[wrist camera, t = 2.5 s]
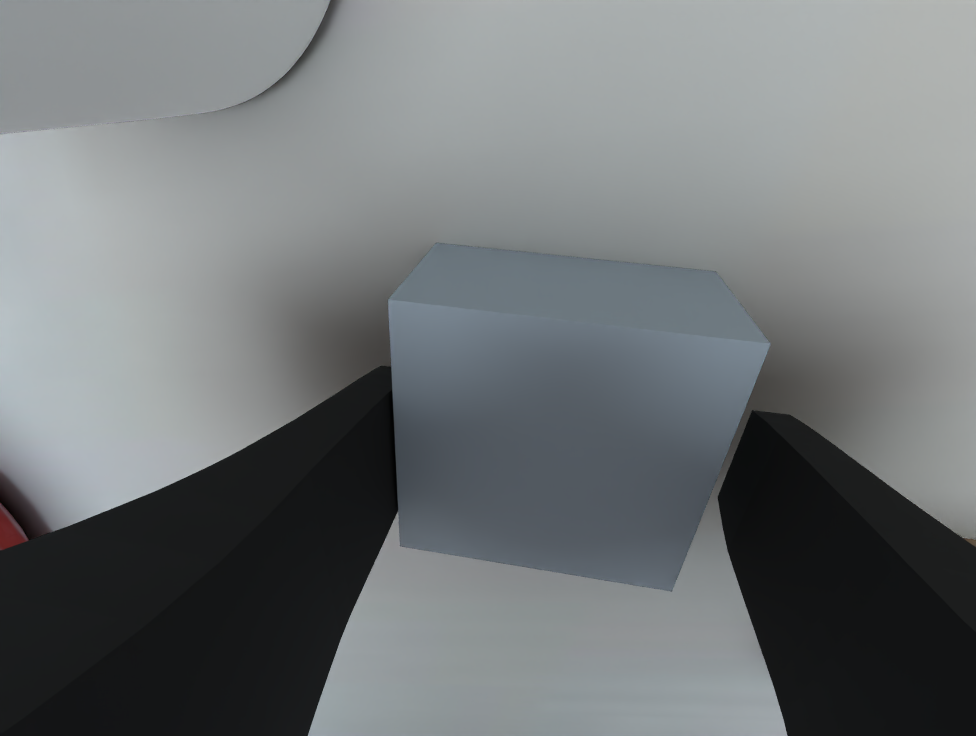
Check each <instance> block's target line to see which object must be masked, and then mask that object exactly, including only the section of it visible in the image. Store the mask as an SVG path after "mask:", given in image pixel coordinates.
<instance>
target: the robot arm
mask: <svg viewBox="0 0 976 736" xmlns="http://www.w3.org/2000/svg"><path fill="white" fill-rule="evenodd" d="M718 502H719V508H720V514H721V520H722V525H723V530H724V535H725V540H726V545H727V549H728V553H729V556H730V559H731V562H732V565H733V568H734V571H735V574H736V577H737V580H738V583H739V586H740V589H741V592H742V595H743V598H744V601H745V604H746V607H747V610H748V613H749V616H750V619H751V622H752V625H753V627H754V630H755V633H756V636H757V639H758V642H759V645H760V648H761V651H762V654H763V656H764V659H765V662H766V665H767V668H768V671H769V674H770V677H771V680H772V683H773V686H774V689H775V692H776V696H777V699H778V702H779V706H780V709H781V712H782V716H783V719H784V723H785V727H786V731H787V735H788V736H976V547H975V546H974V545H972V544H971V543H969V542H968V541H966V540H965V539H963V538H962V537H960V536H959V535H957V534H956V533H954V532H953V531H952V530H950V529H949V528H947V527H946V526H944V525H943V524H942V523H940V522H939V521H937V520H936V519H934V518H933V517H932V516H930V515H929V514H927V513H926V512H925V511H923V510H922V509H920V508H919V507H918V506H916V505H915V504H913V503H912V502H911V501H909V500H908V499H906V498H905V497H904V496H902V495H901V494H900V493H898V492H897V491H896V490H894V489H893V488H891V487H890V486H889V485H887V484H886V483H885V482H883V481H882V480H881V479H879V478H878V477H877V476H875V475H874V474H873V473H871V472H870V471H868V470H867V469H866V468H864V467H863V466H862V465H860V464H859V463H858V462H856V461H855V460H854V459H852V458H851V457H850V456H848V455H847V454H846V453H844V452H843V451H842V450H840V449H839V448H838V447H836V446H835V445H833V444H832V443H831V442H829V441H828V440H827V439H825V438H824V437H822V436H821V435H820V434H818V433H817V432H815V431H814V430H813V429H811V428H810V427H808V426H807V425H805V424H804V423H802V422H801V421H799V420H797V419H796V418H794V417H793V416H791V415H787V414H779V413H770V412H762V411H754V410H752V412H751V415H750V417H749V420H748V422H747V425H746V427H745V430H744V432H743V435H742V437H741V440H740V442H739V445H738V447H737V450H736V452H735V455H734V457H733V460H732V462H731V465H730V467H729V470H728V472H727V475H726V477H725V480H724V482H723V485H722V487H721V490H720V492H719V495H718ZM397 511H398V495H397V474H396V454H395V433H394V413H393V392H392V372H391V367H386V366H380V367H378V368H376V369H374V370H373V371H371V372H369V373H368V374H366V375H365V376H363V377H361V378H360V379H358V380H357V381H355V382H354V383H352V384H350V385H349V386H347V387H346V388H344V389H343V390H341V391H340V392H338V393H337V394H335V395H333V396H332V397H330V398H329V399H327V400H325V401H324V402H322V403H321V404H319V405H317V406H316V407H314V408H313V409H311V410H309V411H308V412H306V413H305V414H303V415H302V416H300V417H298V418H297V419H295V420H293V421H291V422H290V423H288V424H286V425H284V426H283V427H281V428H279V429H277V430H276V431H274V432H272V433H270V434H269V435H267V436H265V437H263V438H262V439H260V440H258V441H256V442H255V443H253V444H251V445H249V446H247V447H246V448H244V449H242V450H240V451H238V452H237V453H235V454H233V455H231V456H229V457H227V458H225V459H223V460H221V461H219V462H217V463H215V464H213V465H211V466H209V467H207V468H205V469H203V470H201V471H199V472H196V473H194V474H192V475H190V476H188V477H186V478H184V479H181V480H179V481H177V482H175V483H173V484H171V485H169V486H166V487H164V488H162V489H159V490H157V491H155V492H153V493H150V494H148V495H145V496H143V497H140V498H138V499H135V500H133V501H130V502H128V503H125V504H123V505H120V506H118V507H115V508H113V509H110V510H108V511H105V512H103V513H100V514H98V515H95V516H93V517H90V518H88V519H86V520H83V521H81V522H78V523H76V524H73V525H70V526H68V527H65V528H62V529H60V530H57V531H54V532H51V533H49V534H46V535H43V536H40V537H37V538H34V539H32V540H29V541H26V542H23V543H20V544H17V545H15V546H12V547H9V548H6V549H3V550H0V736H308V733H309V730H310V727H311V724H312V721H313V718H314V715H315V712H316V709H317V706H318V703H319V700H320V697H321V694H322V691H323V688H324V685H325V682H326V680H327V677H328V674H329V671H330V668H331V665H332V662H333V659H334V657H335V654H336V651H337V648H338V645H339V642H340V639H341V637H342V635H343V632H344V630H345V627H346V625H347V622H348V620H349V617H350V615H351V613H352V610H353V608H354V606H355V604H356V602H357V599H358V597H359V595H360V593H361V591H362V589H363V586H364V584H365V582H366V580H367V578H368V575H369V573H370V571H371V569H372V567H373V564H374V562H375V560H376V558H377V556H378V554H379V551H380V549H381V547H382V545H383V543H384V540H385V538H386V536H387V534H388V532H389V529H390V527H391V525H392V523H393V520H394V518H395V516H396V514H397Z"/></svg>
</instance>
